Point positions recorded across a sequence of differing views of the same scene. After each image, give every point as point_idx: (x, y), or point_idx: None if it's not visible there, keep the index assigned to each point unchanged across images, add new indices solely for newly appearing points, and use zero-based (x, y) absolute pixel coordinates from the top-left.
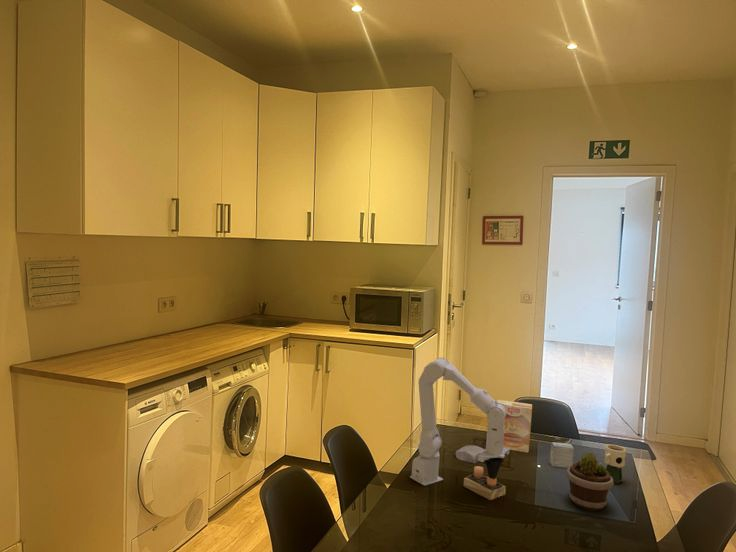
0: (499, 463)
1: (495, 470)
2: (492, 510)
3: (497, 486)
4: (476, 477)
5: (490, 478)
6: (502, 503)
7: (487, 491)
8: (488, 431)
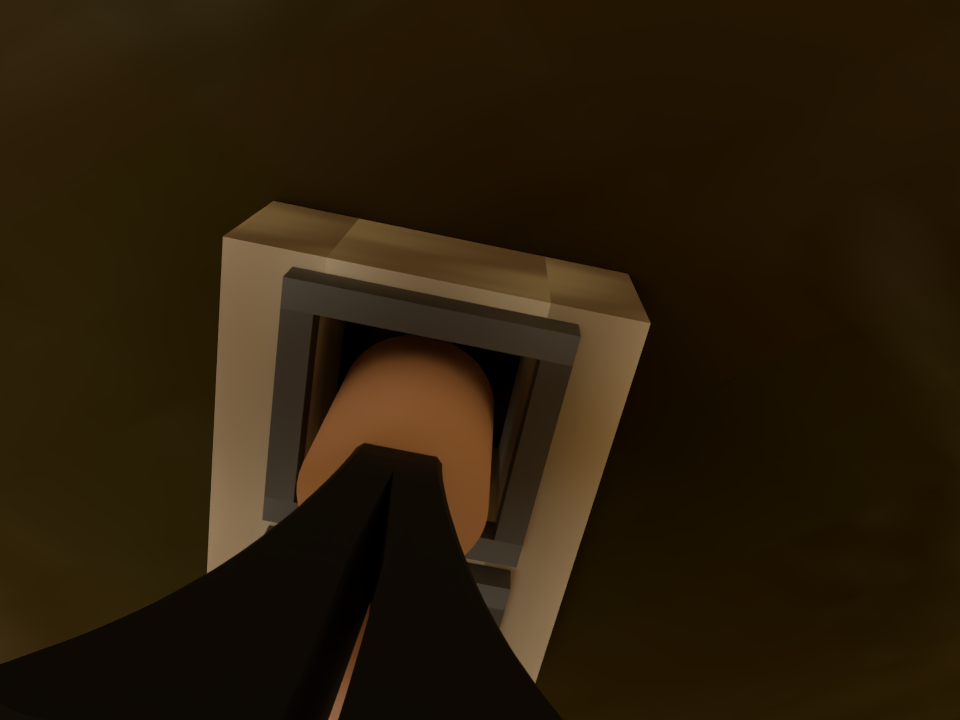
0: (285, 693)
1: (420, 567)
2: (938, 85)
3: (419, 320)
4: None
5: (455, 506)
6: (580, 87)
7: (626, 376)
8: None
